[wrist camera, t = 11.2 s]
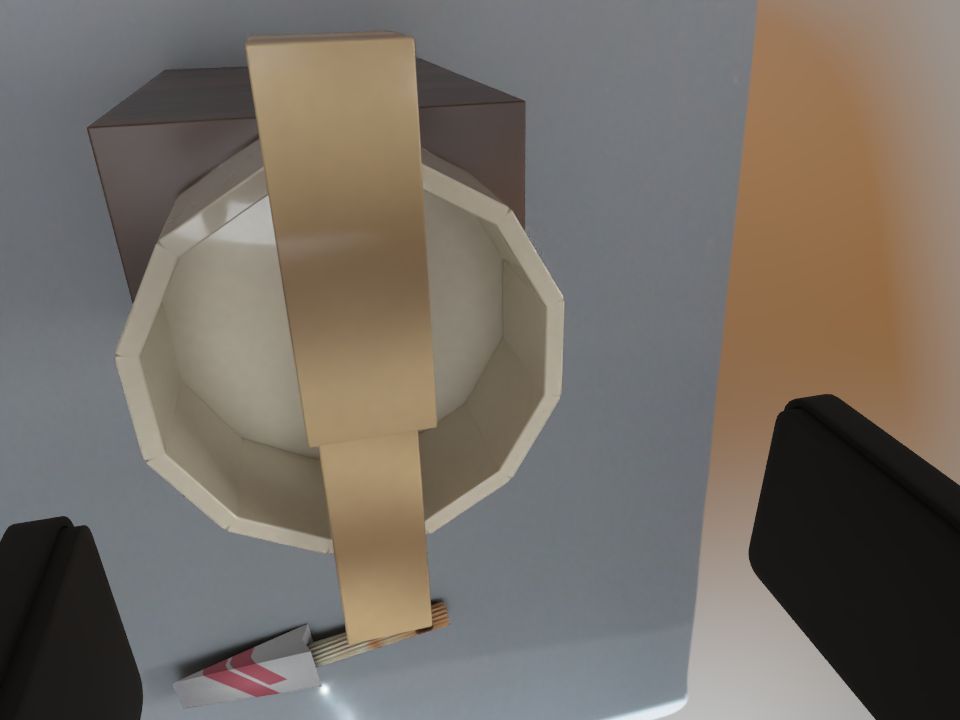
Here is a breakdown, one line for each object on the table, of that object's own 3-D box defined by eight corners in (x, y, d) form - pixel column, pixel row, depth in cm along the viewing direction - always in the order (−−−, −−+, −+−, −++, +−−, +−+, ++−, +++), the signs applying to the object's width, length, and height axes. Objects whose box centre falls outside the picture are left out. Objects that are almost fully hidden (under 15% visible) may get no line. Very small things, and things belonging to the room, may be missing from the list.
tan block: (247, 35, 16) (244, 44, 13) (391, 30, 17) (414, 37, 14) (339, 624, 24) (347, 699, 22) (432, 603, 25) (452, 674, 22)
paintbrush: (168, 694, 49) (448, 609, 54) (170, 663, 52) (439, 583, 56) (183, 731, 51) (454, 645, 56) (185, 699, 53) (444, 619, 58)
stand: (163, 69, 36) (85, 126, 20) (421, 58, 39) (526, 100, 23) (213, 310, 42) (183, 498, 26) (433, 285, 45) (523, 440, 29)
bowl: (105, 140, 21) (62, 179, 16) (514, 114, 23) (571, 141, 19) (192, 487, 26) (178, 584, 22) (514, 433, 29) (558, 510, 24)
